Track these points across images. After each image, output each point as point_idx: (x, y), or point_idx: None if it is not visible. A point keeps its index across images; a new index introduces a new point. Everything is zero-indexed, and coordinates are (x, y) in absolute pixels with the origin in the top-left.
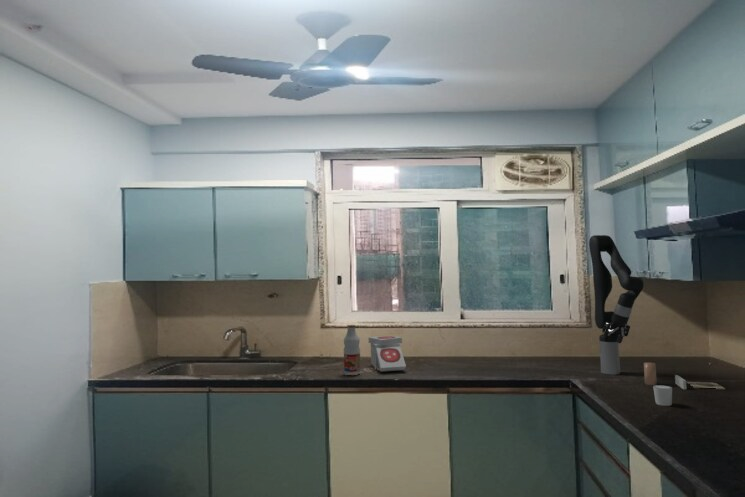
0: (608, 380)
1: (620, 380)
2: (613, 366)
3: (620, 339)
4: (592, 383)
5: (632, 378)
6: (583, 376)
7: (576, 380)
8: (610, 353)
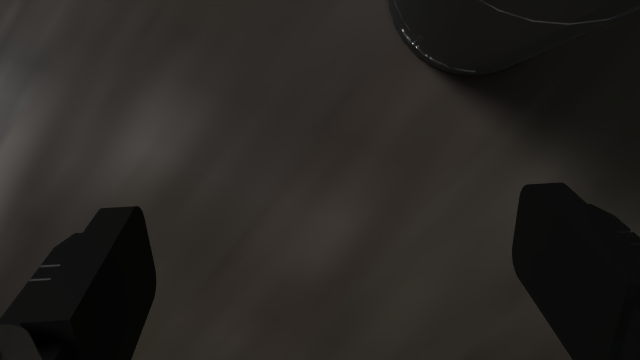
0: (244, 239)
1: (336, 275)
2: (456, 62)
3: (556, 325)
4: None
5: (491, 250)
6: (147, 31)
7: (6, 147)
8: (459, 18)
